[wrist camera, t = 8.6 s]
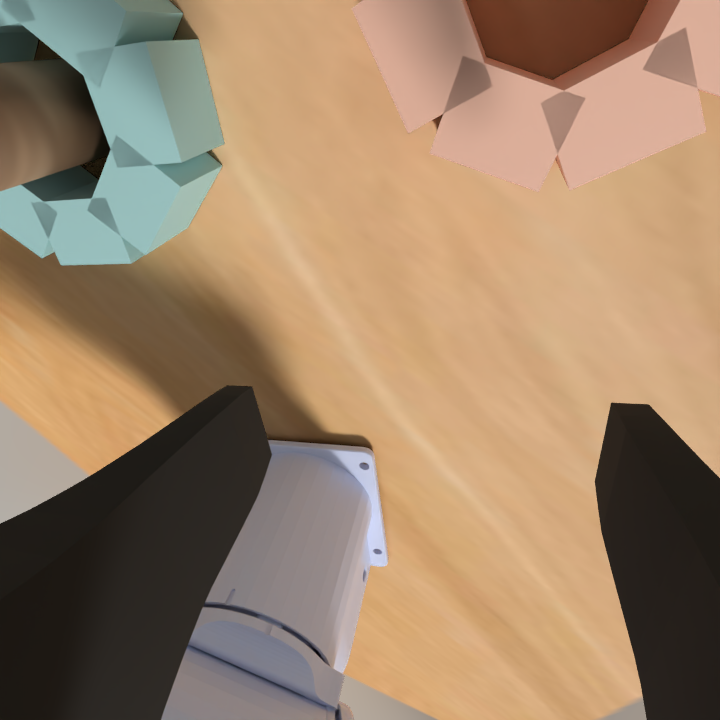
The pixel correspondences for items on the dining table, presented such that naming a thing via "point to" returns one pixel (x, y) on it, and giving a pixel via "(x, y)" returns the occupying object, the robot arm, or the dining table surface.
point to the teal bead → (117, 130)
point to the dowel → (45, 121)
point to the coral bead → (546, 90)
